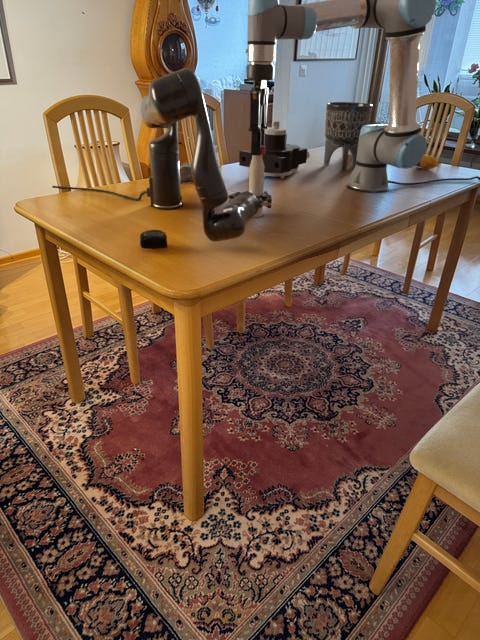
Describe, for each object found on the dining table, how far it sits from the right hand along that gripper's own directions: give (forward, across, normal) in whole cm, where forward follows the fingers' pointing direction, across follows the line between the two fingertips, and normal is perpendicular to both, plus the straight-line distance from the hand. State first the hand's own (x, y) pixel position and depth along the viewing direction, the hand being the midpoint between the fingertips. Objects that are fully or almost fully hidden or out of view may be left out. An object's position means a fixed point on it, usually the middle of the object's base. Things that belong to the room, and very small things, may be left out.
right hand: (257, 153), depth 135 cm
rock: (+19, -36, -35) cm, 53 cm away
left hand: (+13, -3, 0) cm, 13 cm away
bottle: (+19, 0, 0) cm, 19 cm away
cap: (-2, 0, 0) cm, 2 cm away
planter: (+19, -84, +22) cm, 89 cm away
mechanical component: (+19, -62, -3) cm, 64 cm away
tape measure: (+19, +36, -18) cm, 45 cm away
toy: (+19, -96, +59) cm, 114 cm away
